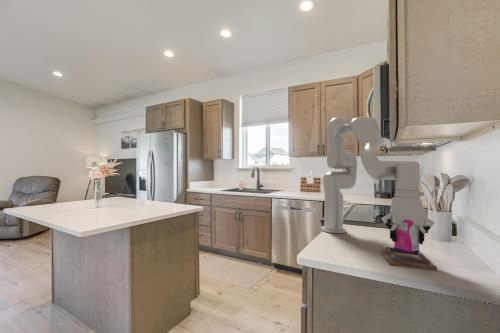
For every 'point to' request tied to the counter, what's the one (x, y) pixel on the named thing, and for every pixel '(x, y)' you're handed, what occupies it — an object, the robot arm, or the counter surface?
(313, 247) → the counter surface
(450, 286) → the counter surface
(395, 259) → the base board
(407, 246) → the supplement box
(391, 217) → the robot arm
